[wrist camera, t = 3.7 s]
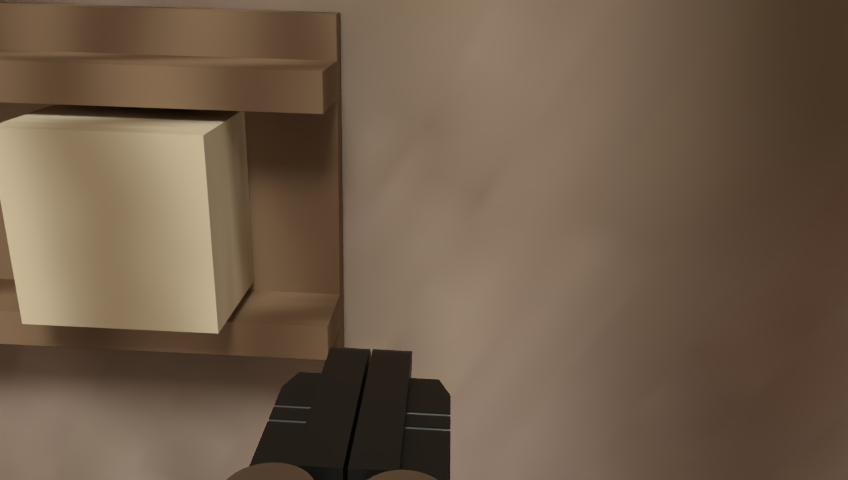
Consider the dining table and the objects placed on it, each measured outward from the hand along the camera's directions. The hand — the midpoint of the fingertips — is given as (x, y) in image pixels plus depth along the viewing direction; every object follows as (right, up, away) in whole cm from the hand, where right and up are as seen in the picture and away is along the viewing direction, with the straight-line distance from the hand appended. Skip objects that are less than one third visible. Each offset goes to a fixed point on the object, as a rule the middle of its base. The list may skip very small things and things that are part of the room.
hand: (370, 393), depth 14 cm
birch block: (-8, +4, +11) cm, 15 cm away
